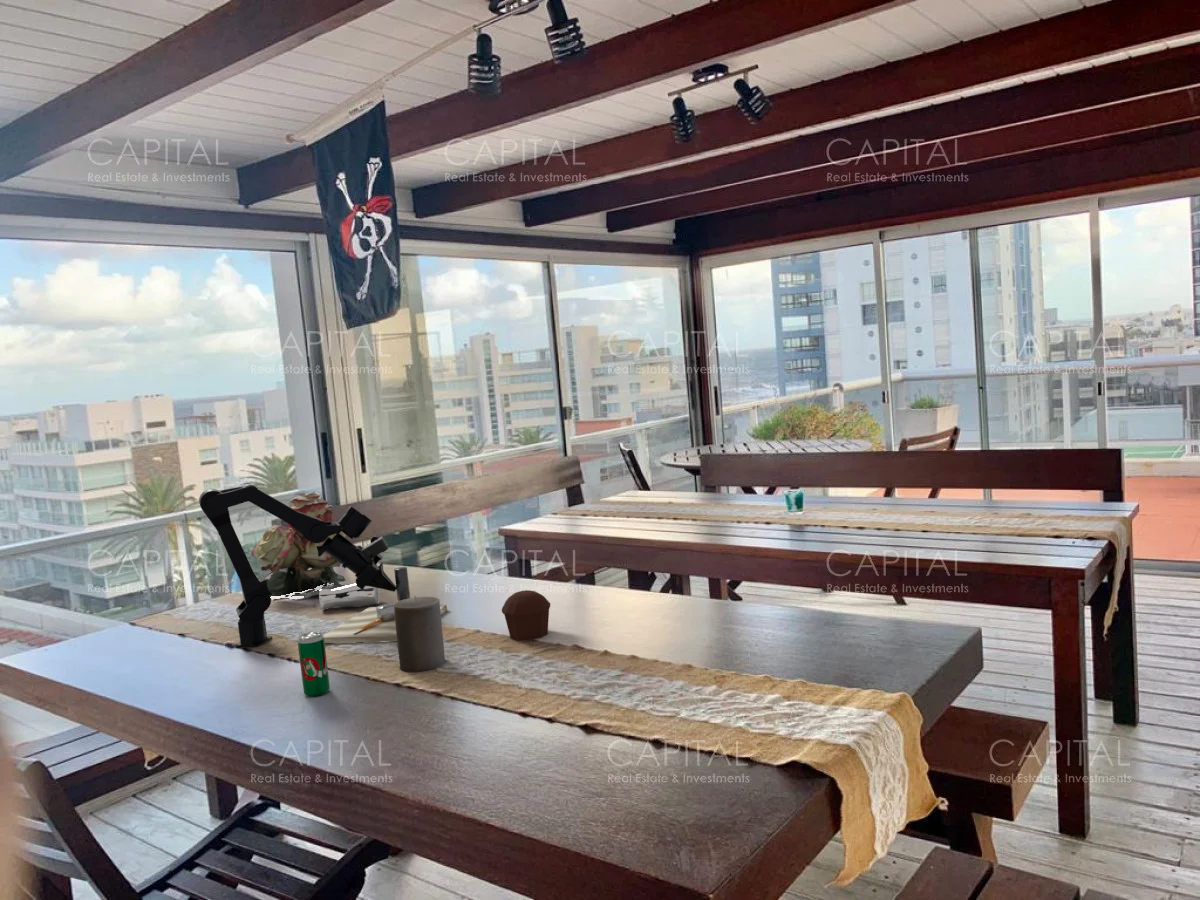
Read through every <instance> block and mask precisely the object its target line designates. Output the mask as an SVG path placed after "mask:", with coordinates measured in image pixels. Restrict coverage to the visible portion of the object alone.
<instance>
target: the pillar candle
mask: <svg viewBox="0 0 1200 900" xmlns="http://www.w3.org/2000/svg"><path fill="white" fill-rule="evenodd" d="M440 601H441V599H440V598H438V597H434V596H416V595H415V596H414V597H410V598H409V599H405V600H401V601H398V600H397V602H395V603H393V604H394V614H395V625H396V635H397V642H396V645H397V654H398V662H399V670H401V671H404V672H406V673H407V672H408V673H419V672H426V671H432V670H434V669H435V670H436V669H437V668H439V667H442V666H443V665H444V664H445V662H446V657H445V656H446V655H445V644H444V636H443V623H442V615H441V613H440V605H441V603H440Z"/></svg>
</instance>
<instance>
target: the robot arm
mask: <svg viewBox="0 0 1200 900" xmlns="http://www.w3.org/2000/svg"><path fill="white" fill-rule="evenodd" d="M198 503H199V506H200V509H201V510H202V511H203V512H204V514H205V516H206V517H207V519H208V520H209V522H210V523H212V526H213V527H214V529H215V530H216V531H217V534H218V536H219V537H220V540H221V542H222V545H223V547H224V549H225V550H226V553H227V555H228V557H229V559H230V561H231V564H232V566H233V568H234V571H235V573H236V574H237V576H238V577H237V578H238V580H239V584H240V585H239V586H240V589H241V592H242V597H243V600H242V601H241V603H240V604H239V605H238V606H237V608H236V609H235V610H236V613H237V616H238V618H239V619H238V621H237V627H238V633H239V642H238V643H236V644H234V646H235V647H236V648H237V647H238V648H240V647H241V648H242V647H243V648H244V647H260V646H261V645H263V644H265V643H267V642H268V641H270V640H272V639H273V636H272V635H271V636H268V635H267V633H268V632H267V625H266V619H265V612H266V611H268V609H269V608H270V606H271V604H272V600H271V598H270V596H269V595H272V593H271V591H270V589H269V588H268V587H267V583H266V578H265V577H264V575H262V576H259V578H258V577H257V575H256V574H255V573H254V570H253V568H252V566H251V563H250V562H249V559H248V557H247V555H246V553H245V550H244V548H243V545H242V544H241V542H240V540H239V537H238V534H237V532H236V531H235V528H234V526H233V525H232V519H231V515H230V511H229V508H232V507H234V506H237V505H242V504H244V503H251V504H253V505H255V506H257V507H258V508H259V509H262V510H264V511H265V512H267V513H269V514H271V515H273V516H275V517H276V518H278V519H280V520H281V521H284V522H285V523H286V524H287V523H289V524H290V525H291V526H293V527H294V528H295V529H296V530H298V531H299V532H300V533H301V534H302V535H304V536H305V537H306V538H307V539H308V540H310V541H311V542H313V543H321V542H323V541H324V543H323V544H322V545H321V546H317V547H316V548H317V550H318V556H319V557H320V556H321V555H322V554H323V553H324V552H326V553H328V554H329V555H330V556H332V557H333V558H334V559H336V560H337V561H338V562H340V563H341V567H342V568H343V569H346V568H347V569H348V570H349V571H350V572H351V573H353V574H355V575H354V577H355V578H356V579H355V582H356V586H358V587H359V588H360V589H362V590H363V589H364V587H365V586H370V587H375V588H379V590H385V591H388V592H397V590H396V583H394V582H393V581H392V580H391V578H390V577H389V576H388V575H387V573H386V572H385V570H384V562H381V563H380V564H379V565H378V563H379V562H380V561H382V559H383V556H382V554H381V553H385V552H386V551H387V550H389V544H388V543H387V541H386V539H385V538H384V537H383V536H382V535H381V536H380V537H379V536H377V535H375V534H374V535H373V536H371V537H370V541H369V542H370V543H368V544H367V545H366V546H364V547H363V546H362V545H359V544H358V545H355V544H354V543H353V542H352V541H350V540H349V539H348V538H350V539H351V540H353V539H359V538H360V537H361V536H362V535H363V534H364V532H365V531H366V530H367V528H368V527H369V526H370V525H371V523H373V521H372V519H370V518H369V517H368V516H366V515H365V514H364V513H362V512H360V511H358V509H356V508H355V507H354V506H351V505H350V506H348V508H347V509H346V511H345V513H344V514H343V515H342V517H341V518H340V519H339V520H338V521H334V520H333V521H332V522H324V521H322V520H321V519H319V518H316V517H313V516H310V515H307V514H304V513H301V512H298V511H296V510H294V509H292V508H291V507H290V505H287V504H286V503H284V502H282V501H280V500H278V499H276V498H275V497H273V496H271V495H269V494H268V493H266V492H264V491H262V490H260V488H257V486H255V485H253V484H251V483H247V484H244V485H241V486H236V487H232V488H225V489H220V490H219V489H217V488H209V489H208V488H207V489H206V490H204V491H202V493H200V496H199V497H198ZM341 528H342V529H341ZM341 531H342V532H343V533H344V534H346V536H347V537H348V538H346V537H344V536H342V535H341V534H340V532H341ZM334 534H336V535H335V536H334V537H333V538H332V539H331V538H329V537H328V536H331V535H334Z"/></svg>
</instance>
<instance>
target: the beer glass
mask: <svg viewBox="0 0 1200 900" xmlns="http://www.w3.org/2000/svg"><path fill="white" fill-rule="evenodd" d="M318 597H319V600H318V601H319V606H320V608H321V610H322V609H327V608H330V609H333V607H334V608H360V607H359V606H365V607H369V606H368V605H370V606H375V605H378V604H379V603H380V588H375V587H370V586H365V587H364V589H363V590H362V589H360V588H359V587H358V586H356V581H355V582H352V583H350V584H345V585H344V586H341V587H337V588H321V589H320V592H319V594H318ZM374 604H375V605H374ZM327 610H328V609H327Z"/></svg>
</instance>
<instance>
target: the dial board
mask: <svg viewBox="0 0 1200 900" xmlns="http://www.w3.org/2000/svg"><path fill="white" fill-rule="evenodd" d="M376 607H377V606H368V607H367V608H366V609H364V610H362V611H360V612H359V613H357V614H355V615H354V616H352V617H351V618H349V619H348V620H346V621H345V622H343V623H341V624H339V625H338V626H337V627H335V628H333V629H331V630H330V631H328V632H326V633H325V634H322V636H323V637H324V642H325V643H336V644H354V643H353V642H376V643H381V642H380V641H397V635H396V625H395V619H393V620H389V621H382V622H380V623H377V624H375V625H373V626H371V627H368V628H366V629H364V630H362V629H360V627H361V626H364V625H366V624H368V623H370V622H373V621H375V620H377V611H376ZM447 611H448V607H447V604H440V613H441V616H442V615H443V614H444V613H445V612H447Z"/></svg>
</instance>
